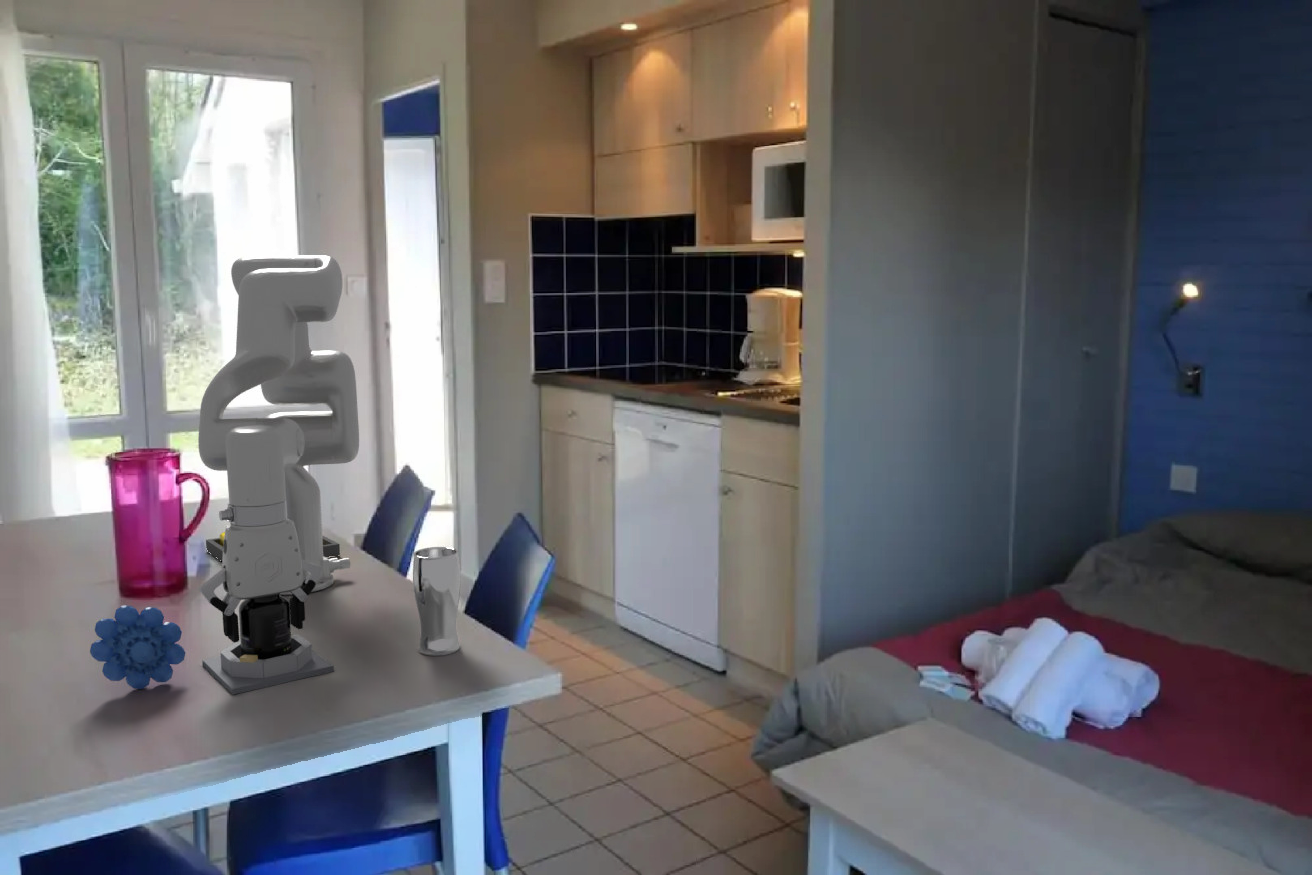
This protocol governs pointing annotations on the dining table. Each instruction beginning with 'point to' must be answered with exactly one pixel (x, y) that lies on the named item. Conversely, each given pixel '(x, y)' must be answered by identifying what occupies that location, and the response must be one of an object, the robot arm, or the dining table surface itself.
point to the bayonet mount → (265, 667)
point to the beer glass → (437, 598)
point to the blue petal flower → (137, 646)
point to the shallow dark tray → (328, 545)
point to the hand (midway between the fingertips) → (265, 632)
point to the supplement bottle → (265, 627)
